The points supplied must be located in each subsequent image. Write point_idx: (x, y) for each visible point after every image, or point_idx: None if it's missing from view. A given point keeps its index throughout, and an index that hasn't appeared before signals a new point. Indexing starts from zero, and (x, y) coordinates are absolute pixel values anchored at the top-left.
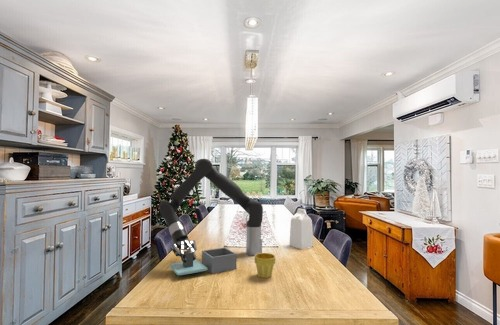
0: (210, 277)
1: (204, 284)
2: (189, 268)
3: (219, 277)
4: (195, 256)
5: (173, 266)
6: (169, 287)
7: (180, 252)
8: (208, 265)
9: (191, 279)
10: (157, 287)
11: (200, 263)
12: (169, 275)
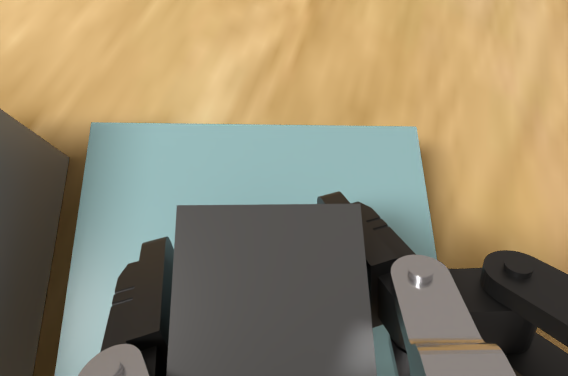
0: (127, 89)
1: (229, 3)
2: (273, 201)
3: (62, 55)
4: (133, 274)
5: None
6: (457, 71)
7: (468, 308)
8: (16, 235)
9: None
10: (532, 108)
11: (77, 318)
12: None
